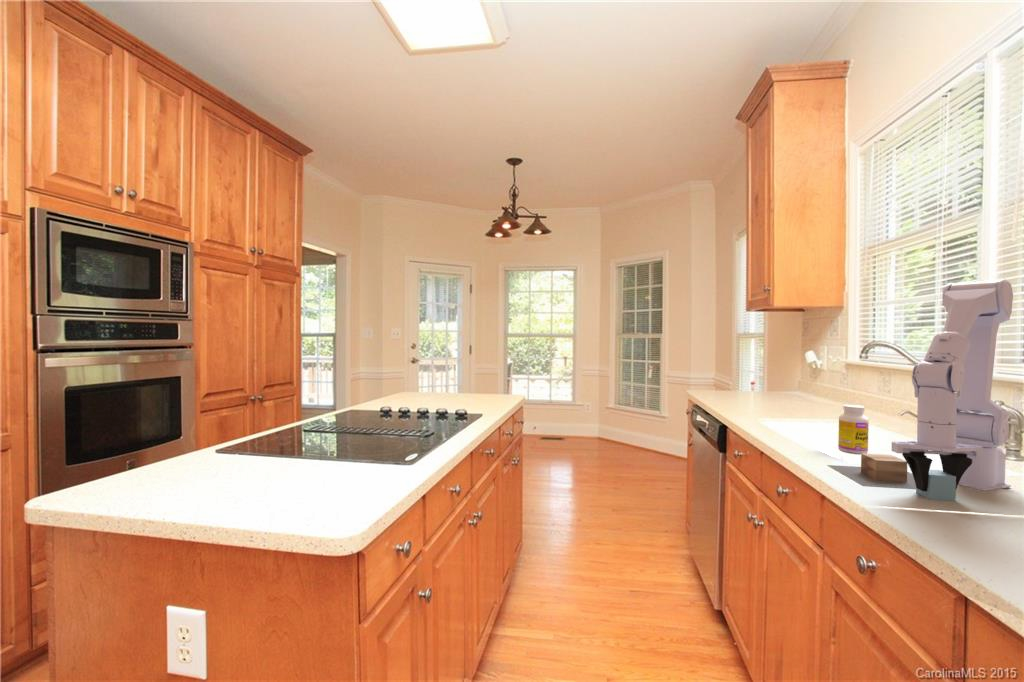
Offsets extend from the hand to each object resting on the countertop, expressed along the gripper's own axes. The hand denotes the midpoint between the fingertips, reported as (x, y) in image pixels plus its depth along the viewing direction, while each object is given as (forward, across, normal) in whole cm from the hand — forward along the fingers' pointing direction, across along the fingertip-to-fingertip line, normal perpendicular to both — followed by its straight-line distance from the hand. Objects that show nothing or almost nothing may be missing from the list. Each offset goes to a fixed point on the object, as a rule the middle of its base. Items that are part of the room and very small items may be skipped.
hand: (935, 490), depth 92 cm
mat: (+2, -3, +12) cm, 13 cm away
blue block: (+1, 0, 0) cm, 1 cm away
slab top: (-1, -3, +12) cm, 13 cm away
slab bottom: (+1, -3, +12) cm, 13 cm away
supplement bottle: (+2, +4, +38) cm, 38 cm away
